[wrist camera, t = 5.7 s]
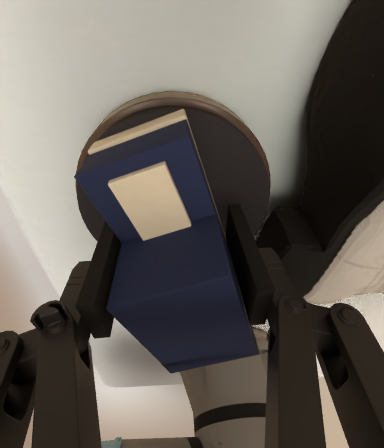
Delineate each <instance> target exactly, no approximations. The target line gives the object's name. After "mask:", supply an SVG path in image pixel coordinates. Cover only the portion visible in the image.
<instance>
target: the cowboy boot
mask: <svg viewBox="0 0 384 448" xmlns="http://www.w3.org/2000/svg"><path fill="white" fill-rule="evenodd" d="M306 146H307V171H306V179H305V186H304V192H303V196H302V199H301V203H300V205H299V207H283V208H276V209H274V211H273V212H272V214H271V215H270V217H269V218H268V220H267V221H266V223H265V224H264V226H263V229H262V231H261V233H260V235H259V237H258V238H257V240H256V241H255V242H256V244H257V247H258V248H270V247H271V248H272V249H273V250H274V251H275V252H276V253H277V254H278V256H279V258H280V260H281V263H282V264H283V266H284V269H285V270H286V272H287V274H288V276H289V278H290V280H291V282H292V284H293V286H294V288H295V290H296V292H297V294H298V295H300V296H301V297H303V298H304V299H305V300H306V301H307V302H309V303H315V304H327V303H334V302H336V301H339V300H342V299H344V298H347V297H350V296H352V295H361V294H369V293H384V0H353V1H352V3H351V4H350V6H349V8H348V9H347V11H346V12H345V14H344V16H343V18H342V20H341V21H340V23H339V25H338V27H337V29H336V31H335V33H334V35H333V37H332V39H331V41H330V43H329V46H328V48H327V50H326V52H325V54H324V56H323V59H322V61H321V63H320V66H319V69H318V71H317V74H316V76H315V80H314V83H313V86H312V89H311V92H310V97H309V101H308V106H307V115H306Z"/></svg>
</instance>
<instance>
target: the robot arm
mask: <svg viewBox="0 0 384 448" xmlns="http://www.w3.org/2000/svg"><path fill="white" fill-rule="evenodd" d="M226 240H227V244H228V248H229V251H230V255H231V259H232V262H233V266H234V270H235V273H236V277H237V280H238V284H239V288H240V291H241V295H242V299H243V302H244V306H245V310H246V313H247V317H248V321H249V324H250V325H260V324H265V322H266V319H267V320H268V323H269V326H270V328H269V331H268V334H267V333H265V332H264V331H261V330H258V329H255V328H253V331H254V334H255V337H256V341H257V345H258V348H259V352H260V354H259V355H255V356H250V357H246V358H241V359H236V360H232V361H227V362H222V363H218V364H213V365H208V366H204V367H199V368H194V369H189V370H185V371H180V373H181V376H182V379H183V382H184V385H185V389H186V392H187V395H188V398H189V401H190V404H191V407H192V410H193V417H194V430H195V437H184V438H153V439H123V440H122V438H121V437H117V438H116V439H115V440H110V441H101V438H100V429H99V420H98V410H97V402H96V401H97V400H96V391H95V382H94V372H93V363H92V353H91V346H90V343H89V338H90V334H92V336H93V337H94V338H105V337H110V335H111V330H112V325H113V320H114V317H113V316H112V315H111V314H110V313H109V312H108V311H107V309H106V307H107V302H108V298H109V294H110V290H111V286H112V281H113V277H114V273H115V269H116V265H117V261H118V256H119V252H120V248H121V244H122V243H121V242H120V240H119V239H118V237H117V236H116V235H115V233H114V232H113V230H112V229H111V228H110V226H109V225H108V224H107V222H106V221H105V223H104V225H103V228H102V231H101V234H100V237H99V240H98V243H97V245H96V248H95V251H94V254H93V257H92V260H91V261H83V262H79V263H78V264H77V265H76V266H75V267H74V268H73V270H72V272H71V274H70V277H69V279H68V282H67V284H66V286H65V289H64V291H63V294H62V296H61V298H60V301H57V300H54V301H49V302H47V303H45V304H43V305H41V306H40V307H39V308H38V309H37V310H36V311H35V312H34V313H33V315H32V317H31V320H30V321H31V323H33V325H34V326H35V327H36V328H35V329H33V330H30V331H27V332H25V333H22V334H19V335H18V334H17V333H15V332H13V331H4V332H1V333H0V448H23V445H24V441H25V438H26V434H27V430H28V427H29V423H30V420H31V416H32V413H33V409H34V417H33V433H32V448H326V441H325V433H324V424H323V415H322V406H321V398H320V389H319V380H318V371H317V363H316V355H317V358H318V361H319V363H320V366H321V369H322V372H323V375H324V378H325V380H326V383H327V386H328V389H329V392H330V395H331V397H332V400H333V403H334V406H335V409H336V411H337V414H338V417H339V420H340V423H341V426H342V428H343V431H344V434H345V437H346V440H347V443H348V445H349V448H384V352H383V350H382V348H381V347H380V345H379V343H378V341H377V340H376V338H375V336H374V334H373V333H372V331H371V329H370V327H369V326H368V324H367V322H366V320H365V318H364V317H363V316H362V314H361V313H360V312H359V311H358V310H357V309H355V308H354V307H352V306H350V305H348V304H344V303H337V304H334V305H333V306H331V308H327V307H322V306H317V305H313V304H310V303H308V302H307V301H306V300H305V299H304V298H303V297H301V296H300V295H298V294H297V292H296V290H295V288H294V286H293V284H292V282H291V280H290V278H289V276H288V274H287V272H286V270H285V269H284V266H283V264H282V263H281V260H280V258H279V256H278V254H277V253H276V252H275V251H274V250H273V249H272V248H271V247H270V248H258V247H257V244H256V242H255V240H254V237H253V235H252V232H251V230H250V227H249V225H248V223H247V220H246V218H245V215H244V213H243V211H242V208H241V206H240V204H233V205H228V212H227V225H226ZM315 352H316V354H315Z"/></svg>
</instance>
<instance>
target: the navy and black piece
mask: <svg viewBox="0 0 384 448" xmlns="http://www.w3.org/2000/svg"><path fill="white" fill-rule="evenodd" d="M74 177H75V179H76V180H77V182H78V183H77V200H78V205H79V210H80V213H81V216H82V218H83V221H84V223H85V224H86V226H87V228H88V230H89V231H90V233H91V234H92V236H93V237H94V238H95V239H96V240H97V241H98V240H99V237H100V234H101V231H102V228H103V225H104V223H105V221H106V222H107V224H108V225H109V226H110V228H111V229H112V230H113V232H114V233H115V235H116V236H117V237H118V239H119V240H120V242H121V243H122V244H121V248H120V252H119V256H118V261H117V265H116V269H115V273H114V277H113V281H112V286H111V290H110V294H109V298H108V302H107V307H106V309H107V311H108V312H109V313H110V314H111V315H112V316H113V317H114V318H116V319H117V320H118V321H119V322H120V323H121V324H122V325H123V326H124V327H125V328H126V329H127V330H128V331H129V332H130V333H131V334H132V335H133V336H134V337H135V338H136V339H137V340H138V341H139V342H140V343H141V344H142V345H143V346H144V347H145V348H146V349H147V350H148V351H149V352H150V353H151V354H152V355H153V356H154V357H155V358H156V359H158V360H159V361H160V362H161V364H162V365H163V366H164V367H165V368H166V369H167V370H168V371H169V372H170V373H175V372H180V371H185V370H189V369H194V368H199V367H204V366H208V365H213V364H218V363H222V362H227V361H232V360H236V359H241V358H246V357H250V356H255V355H259V354H260V352H259V348H258V345H257V341H256V337H255V334H254V331H253V328H252V325H250V324H249V321H248V317H247V313H246V310H245V306H244V302H243V299H242V295H241V291H240V288H239V284H238V280H237V277H236V273H235V270H234V266H233V262H232V259H231V255H230V251H229V248H228V244H227V240H226V225H227V212H228V205H233V204H240V206H241V208H242V211H243V213H244V215H245V218H246V220H247V223H248V225H249V227H250V230H251V232H252V235H253V236H254V235H255V234H256V232H257V231H258V229H259V228H260V226H261V224H262V222H263V220H264V218H265V215H266V212H267V208H268V204H269V196H270V185H269V178H268V173H267V169H266V167H265V164H264V162H263V159H262V158H261V156H260V154H259V153H258V151H257V149H256V148H255V146H254V145H253V144H252V143H251V142H250V140H249V139H248V138H247V137H246V136H245V135H244V134H243V133H242V132H241V131H240V130H239V129H238V128H236V127H235V126H234V125H232V124H231V123H229V122H228V121H226V120H224V119H223V118H220V117H218V116H216V115H214V114H212V113H209V112H205V111H202V110H198V109H194V108H187V107H159V108H153V109H148V110H145V111H141V112H138V113H135V114H133V115H130V116H128V117H126V118H124V119H122V120H120V121H119V122H117V123H116V124H114V125H113V126H112V127H110V128H109V129H108V130H107V131H106V132H105V133H103V134H102V135H101V136H100V137H99V139H98V140H97V141H96V142H94V143H93V144H92V146H91V147H90V149H89V150H88V154H87V156H86V157H85V159H84V161H83V163H82V166H81V168H80V169H79V170H78V172H77V173H76V175H75V176H74Z"/></svg>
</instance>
